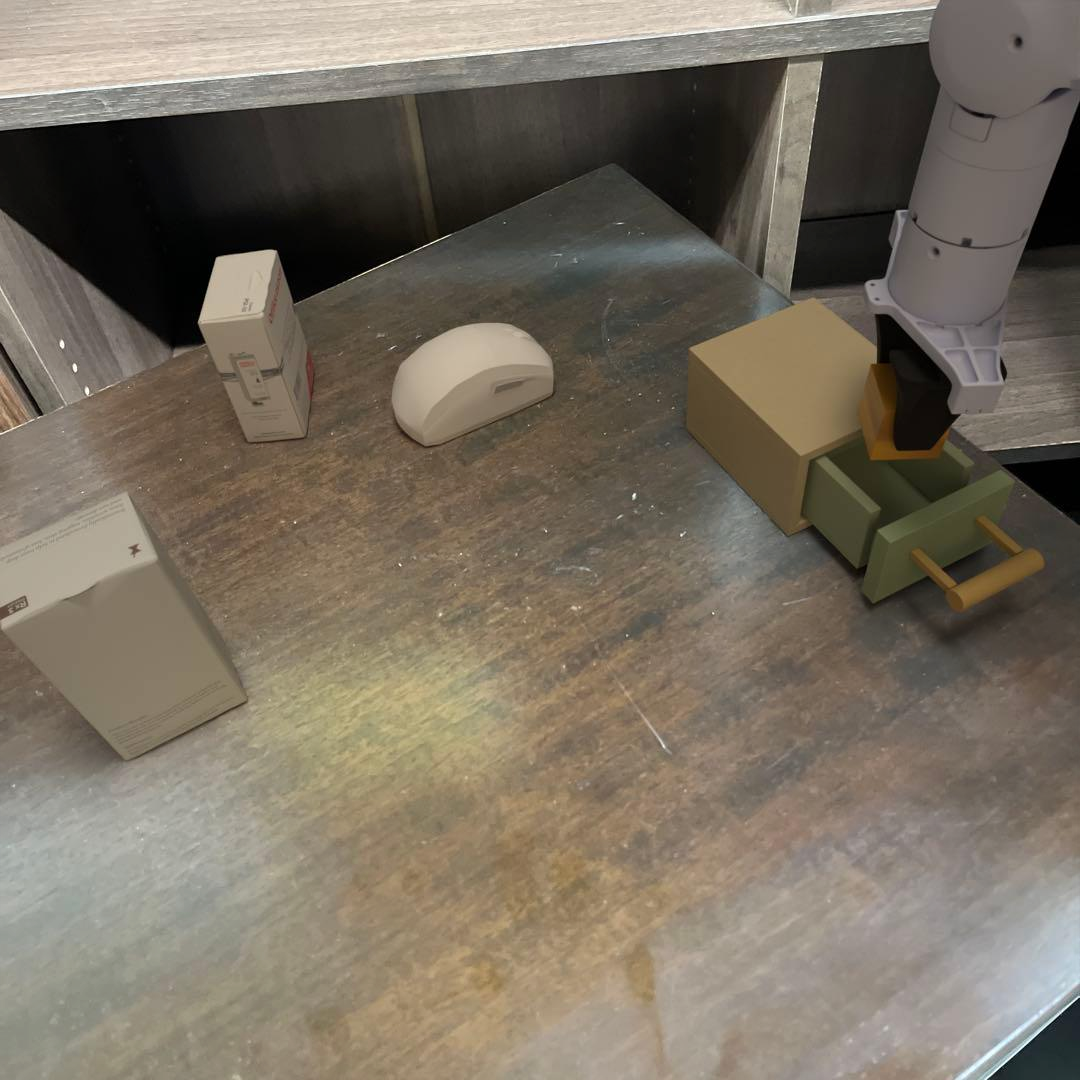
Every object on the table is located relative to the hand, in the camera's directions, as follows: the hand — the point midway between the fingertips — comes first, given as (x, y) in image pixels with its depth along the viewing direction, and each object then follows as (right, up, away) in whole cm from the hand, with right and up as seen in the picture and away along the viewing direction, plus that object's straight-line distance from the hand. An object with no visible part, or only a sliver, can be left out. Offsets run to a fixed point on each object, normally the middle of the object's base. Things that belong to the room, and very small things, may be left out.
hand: (903, 417), depth 58 cm
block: (0, -1, +1) cm, 1 cm away
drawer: (+2, -7, +6) cm, 10 cm away
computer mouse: (-27, +4, +20) cm, 34 cm away
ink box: (-42, +4, +22) cm, 48 cm away
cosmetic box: (-44, -17, +4) cm, 48 cm away
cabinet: (-3, -1, +13) cm, 14 cm away
